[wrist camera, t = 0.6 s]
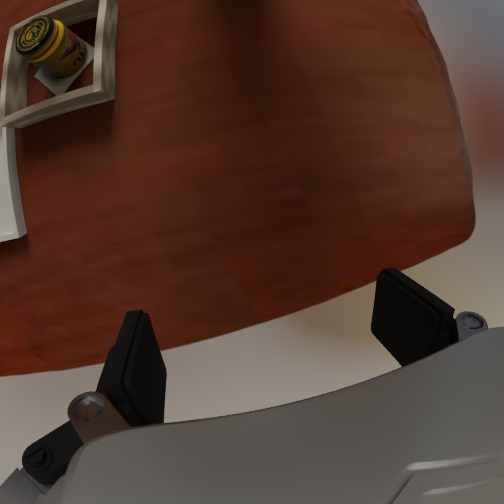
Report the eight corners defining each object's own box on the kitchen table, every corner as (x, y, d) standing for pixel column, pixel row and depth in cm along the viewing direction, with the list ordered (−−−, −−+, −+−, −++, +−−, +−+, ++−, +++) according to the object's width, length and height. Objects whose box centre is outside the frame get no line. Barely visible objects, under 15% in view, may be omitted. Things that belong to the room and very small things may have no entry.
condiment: (99, 51, 27) (67, 19, 16) (60, 98, 28) (16, 83, 17) (71, 32, 25) (37, 0, 14) (35, 76, 26) (-9, 59, 15)
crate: (28, 38, 23) (10, 27, 17) (118, 6, 25) (108, -13, 20) (21, 128, 28) (-1, 126, 22) (114, 99, 30) (101, 90, 25)
